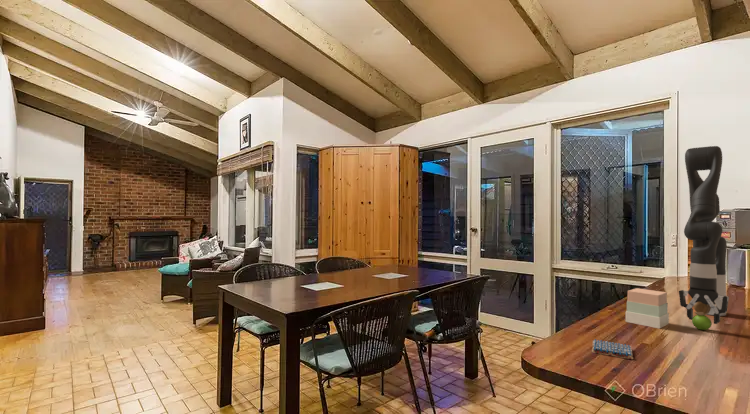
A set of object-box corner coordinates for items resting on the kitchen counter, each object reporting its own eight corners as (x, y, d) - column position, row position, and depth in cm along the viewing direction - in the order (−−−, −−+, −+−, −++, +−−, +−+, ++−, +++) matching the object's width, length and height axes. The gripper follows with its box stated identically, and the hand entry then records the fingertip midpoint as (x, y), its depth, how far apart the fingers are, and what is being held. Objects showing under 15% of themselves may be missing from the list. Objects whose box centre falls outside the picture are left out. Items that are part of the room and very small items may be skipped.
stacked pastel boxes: (635, 317, 154) (635, 287, 155) (668, 323, 146) (668, 292, 146) (625, 321, 147) (625, 290, 148) (659, 328, 139) (659, 295, 139)
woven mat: (631, 350, 116) (631, 344, 116) (633, 362, 107) (633, 354, 107) (592, 344, 122) (592, 337, 122) (591, 354, 113) (591, 347, 113)
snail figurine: (718, 332, 136) (718, 298, 136) (700, 331, 136) (700, 298, 136) (705, 327, 141) (705, 295, 141) (688, 327, 141) (688, 295, 141)
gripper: (731, 277, 135) (731, 324, 135) (681, 272, 147) (681, 315, 146) (727, 279, 131) (727, 328, 130) (675, 274, 142) (675, 318, 142)
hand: (703, 321), depth 138 cm, fingers open, 6 cm apart
